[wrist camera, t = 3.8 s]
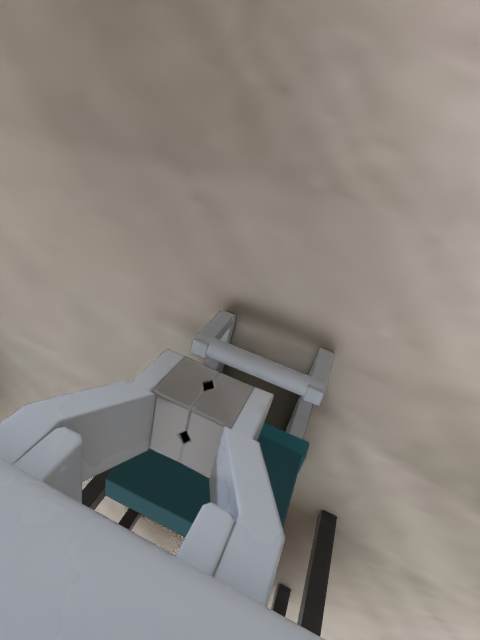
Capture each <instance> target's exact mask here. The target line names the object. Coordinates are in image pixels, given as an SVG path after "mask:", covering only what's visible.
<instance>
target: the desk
mask: <svg viewBox="0 0 480 640" xmlns="http://www.w3.org/2000/svg"><path fill="white" fill-rule="evenodd" d="M116 466H117V465H116ZM116 466H114V467H112V468H110V469H108V470H106V471H104V472H102V473H100V474H98V475H96V476H94V478H93V479H92V480H91V481H90V482H89V483H88V485H87V486H86V487H85V488H84V489H83V491H82V504H84V505H85V506H87V507H89V508H91V509H93V510H95V509H96V507H97V506H98V505H99V503H100V502H101V501H102V500H103V498H104V497H105V496H106V495H105V482H106V478H107V477H108V475H109V474H110V473H111V472H112V471H113V469H114V468H115V467H116ZM139 517H140V513H138V512H136V511H134V510H132V509H131V508H129V509H128V510H127V512H126V513H125V515H124V516H123V518H122V519H121V521H120V522H119V523H118V524H119V525H121V526H123V527H125V528H127V529H128V530H130V531H131V530H132V528H133V526H134V525H135V523H136V522H137V520H138V519H139ZM336 521H337V517H335V516H333V515H331V514H329V513H327V512H325V511H322V512H321V513H320V515H319V517H318V518H317V523H316V528H315V534H314V539H313V544H312V549H311V555H310V560H309V565H308V570H307V576H306V581H305V586H304V591H303V596H302V602H301V607H300V612H299V617H298V623H297V624H298V625H300V626H301V627H303V628H305V629H307V630H309V631H310V632H312V633H314V634H316V635H318V636H319V637H320V634H321V627H322V620H323V613H324V606H325V599H326V592H327V584H328V577H329V570H330V563H331V556H332V549H333V542H334V535H335V528H336ZM290 592H291V590H290V589H288V588H286V587H285V586H283V585H281V584H279V585H278V587H277V588H276V591H275V595H274V599H273V603H272V607H271V610H273V611H275V612H276V613H278V614H280V615H282V616H284V617H285V615H286V610H287V606H288V601H289V596H290Z"/></svg>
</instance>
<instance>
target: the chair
mask: <svg viewBox="0 0 480 640" xmlns="http://www.w3.org/2000/svg"><path fill="white" fill-rule="evenodd" d="M235 320H236V315H234V314H232V313H229V312H226V311H224V312H223V311H219V313H218V314H217V315H216V316H215V317H214V318H213V319H212V320H211V321H210V322H209V323H208V324H207V325H206V326H205V327H204V329H203V330H202V331H201V332H199V333H198V334H197V335H196V336H195V338H194V339H193V341H192V347H191V353H193V354H195V355H198V356H200V357H202V358H205V357H206V356H207V357H209V359H208V360H207V362H206V363H205V364H204V365H205V366H208V367H210V368H212V369H214V370H216V371H218V372H220V373H222V372H223V368H224V364H226V365H229V366H231V367H233V368H236V369H238V370H241V371H243V372H245V373H248V374H250V375H253V376H255V377H257V378H260V379H262V380H265V381H267V382H269V383H272V384H274V385H277V386H279V387H281V388H284V389H286V390H289V391H291V392H293V393H296V394H298V395H300V397H299V399H298V402H297V404H296V406H295V409H294V411H293V414H292V416H291V419H290V421H289V423H288V426H287V428H286V431H282V430H280V429H278V428H276V427H273V426H271V425H269V424H266V423H264V425H263V427H262V430H261V433H260V435H259V438H258V440H257V441H258V442H259V443H260V447H261V451H262V454H263V458H264V462H265V465H266V469H267V473H268V476H269V480H270V484H271V488H272V491H273V495H274V499H275V502H276V506H277V510H278V513H279V517H280V521H281V525H282V528H283V526H284V522H285V518H286V515H287V511H288V507H289V504H290V500H291V496H292V493H293V489H294V485H295V482H296V478H297V475H298V472H299V470H300V468H301V466H302V464H303V462H304V460H305V458H306V455H307V451H308V447H309V442H307V441H305V440H303V436H304V433H305V429H306V426H307V422H308V419H309V415H310V412H311V408H312V405H313V404H315V405H317V406H319V405H320V403H321V401H322V399H323V397H324V395H325V391H326V388H327V383H328V379H329V375H330V371H331V367H332V363H333V359H334V353H333V352H330V351H328V350H325V349H323V348H319V351H318V353H317V356H316V358H315V360H314V363H313V365H312V368H311V370H310V373H309V375H306V374H303V373H301V372H298V371H296V370H293V369H291V368H289V367H286V366H284V365H281V364H279V363H276V362H274V361H271V360H269V359H266V358H264V357H261V356H259V355H256V354H254V353H251V352H249V351H246V350H244V349H242V348H239V347H237V346H234V345H232V344H230V340H231V336H232V332H233V328H234V324H235ZM105 495H106V496H108V497H110V498H112V499H113V500H115V501H117V502H119V503H121V504H123V505H125V506H127V507H129V508H131V509H132V510H134V511H136V512H138V513H140V514H142V515H144V516H146V517H148V518H150V519H151V520H153V521H155V522H157V523H159V524H161V525H163V526H165V527H167V528H169V529H170V530H172V531H174V532H176V533H178V534H180V535H182V536H184V537H186V535H187V534H188V532H189V530H190V528H191V526H192V524H193V522H194V521H195V519H196V517H197V515H198V513H199V511H200V509H201V508H202V506H203V505H205V504H208V503H211V502H210V487H209V478H208V477H206V476H204V475H202V474H200V473H198V472H196V471H195V470H193V469H191V468H189V467H187V466H185V465H183V464H182V463H180V462H178V461H176V460H173V459H171V458H169V457H167V456H165V455H163V454H161V453H158V452H156V451H154V450H152V449H150V448H148V450H147V451H145V452H143V453H141V454H139V455H137V456H135V457H133V458H131V459H129V460H127V461H125V462H122V463H120V464H118V465H117V466H116V467H115V468H114V469H113V471H112V472H111V473H110V474H109V475H108V477H107V478H106V482H105Z"/></svg>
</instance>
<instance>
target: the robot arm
mask: <svg viewBox="0 0 480 640" xmlns="http://www.w3.org/2000/svg"><path fill="white" fill-rule="evenodd" d="M273 397H274V395H273V394H271V393H269V392H266V391H264V390H262V389H259V388H257V387H253V386H251V385H248V384H246V383H244V382H241V381H239V380H237V379H234V378H232V377H230V376H227V375H225V374H223V373H220V372H218V371H216V370H214V369H212V368H210V367H208V366H205V365H203V364H201V363H199V362H197V361H195V360H192V359H190V358H188V357H185V356H183V355H181V354H179V353H177V352H174V351H172V350H166V351H164V352H163V353H162V354H161V355H160V356H159V357H158V358H157V359H156V360H155V361H154V362H153V363H152V364H150V365H149V366H148V367H147V368H146V369H145V370H144V371H143V372H142V373H141V374H140V375H139V376H138V377H137V378H136V379H134V380H133V381H132V382H129V381H127V380H125V381H121V382H117V383H113V384H109V385H104V386H100V387H96V388H92V389H88V390H84V391H79V392H75V393H71V394H67V395H63V396H59V397H54V398H50V399H46V400H42V401H38V402H34V403H29V404H26V405H24V406H23V407H22V408H20V409H19V410H17V411H16V412H15V413H13V414H12V415H11V416H9V417H8V418H6V419H5V420H4V421H2V422H1V423H0V640H325V639H323V638H321V637H319V636H318V635H316V634H314V633H312V632H310V631H309V630H307V629H305V628H303V627H301V626H300V625H298V624H296V623H294V622H293V621H291V620H289V619H287V618H285V617H284V616H282V615H280V614H278V613H276V612H275V611H273V610H271V609H269V608H268V607H267V605H268V601H269V597H270V594H271V590H272V586H273V583H274V579H275V575H276V572H277V568H278V564H279V560H280V557H281V553H282V549H283V546H284V542H285V536H284V532H283V528H282V525H281V521H280V517H279V513H278V510H277V506H276V502H275V499H274V495H273V491H272V488H271V484H270V480H269V476H268V473H267V469H266V465H265V462H264V458H263V454H262V451H261V447H260V443H259V442H258V441H257V440H258V438H259V435H260V433H261V430H262V427H263V425H264V422H265V419H266V417H267V414H268V411H269V409H270V406H271V403H272V401H273ZM148 448H150V449H152V450H154V451H156V452H158V453H161V454H163V455H165V456H167V457H169V458H171V459H173V460H176V461H178V462H180V463H182V464H183V465H185V466H187V467H189V468H191V469H193V470H195V471H196V472H198V473H200V474H202V475H204V476H206V477H208V478H209V487H210V502H211V503H208V504H205V505H203V506H202V508H201V509H200V511H199V513H198V515H197V517H196V519H195V521H194V522H193V524H192V526H191V528H190V530H189V532H188V534H187V535H186V537H185V539H184V541H183V543H182V545H181V546H180V548H179V550H178V552H177V554H176V556H175V555H173V554H171V553H169V552H168V551H166V550H164V549H162V548H160V547H159V546H157V545H155V544H153V543H152V542H150V541H148V540H146V539H144V538H143V537H141V536H139V535H137V534H135V533H134V532H132V531H130V530H128V529H127V528H125V527H123V526H121V525H119V524H118V523H116V522H114V521H112V520H110V519H109V518H107V517H105V516H103V515H102V514H100V513H98V512H96V511H94V510H93V509H91V508H89V507H87V506H85V505H84V504H82V482H83V481H85V480H88V479H90V478H92V477H94V476H96V475H98V474H100V473H102V472H104V471H106V470H108V469H110V468H112V467H114V466H116V465H118V464H120V463H122V462H125V461H127V460H129V459H131V458H133V457H135V456H137V455H139V454H141V453H143V452H145V451H147V450H148Z"/></svg>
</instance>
